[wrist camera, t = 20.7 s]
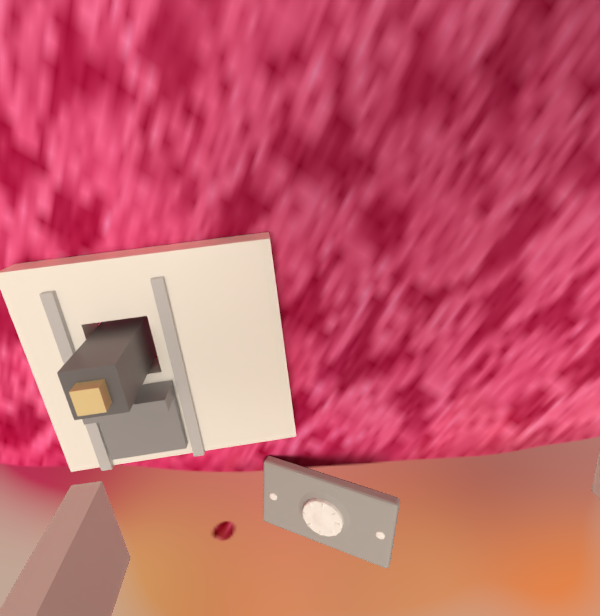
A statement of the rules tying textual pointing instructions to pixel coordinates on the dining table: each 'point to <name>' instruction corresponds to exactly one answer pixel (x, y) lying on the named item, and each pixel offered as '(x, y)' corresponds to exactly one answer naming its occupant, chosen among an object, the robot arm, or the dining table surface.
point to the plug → (108, 368)
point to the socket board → (164, 336)
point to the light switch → (330, 510)
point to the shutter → (145, 424)
